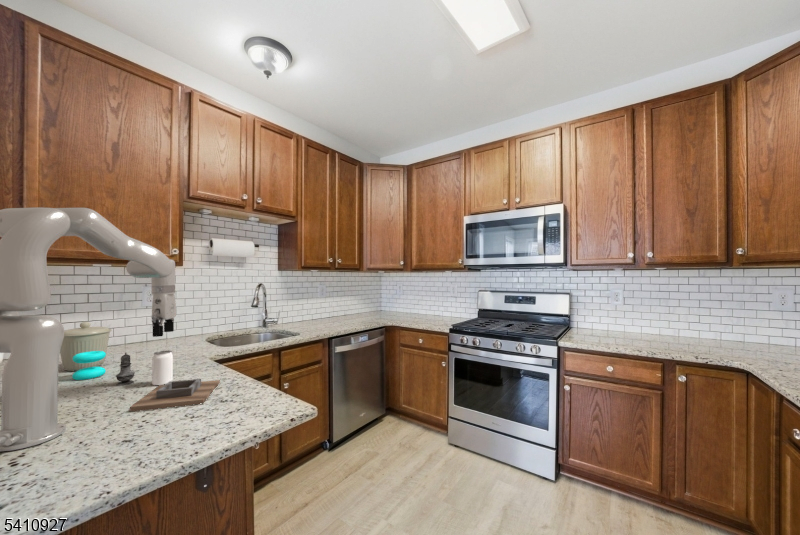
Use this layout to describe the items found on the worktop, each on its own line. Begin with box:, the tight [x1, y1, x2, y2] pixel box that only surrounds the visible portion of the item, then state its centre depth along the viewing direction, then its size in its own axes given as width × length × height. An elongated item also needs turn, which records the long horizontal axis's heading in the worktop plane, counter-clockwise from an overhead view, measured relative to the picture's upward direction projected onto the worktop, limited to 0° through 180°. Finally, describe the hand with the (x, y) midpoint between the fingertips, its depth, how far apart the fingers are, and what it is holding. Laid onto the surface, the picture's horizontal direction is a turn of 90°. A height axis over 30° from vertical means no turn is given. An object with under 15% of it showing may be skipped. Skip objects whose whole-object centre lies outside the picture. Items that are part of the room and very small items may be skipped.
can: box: [151, 350, 174, 386], centre depth 124 cm, size 6×6×12 cm
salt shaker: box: [115, 352, 136, 387], centre depth 124 cm, size 6×6×12 cm
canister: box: [59, 321, 112, 372], centre depth 146 cm, size 18×18×21 cm
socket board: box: [129, 378, 221, 413], centre depth 110 cm, size 20×20×4 cm
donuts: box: [71, 351, 107, 381], centre depth 132 cm, size 10×10×10 cm
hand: (163, 333), depth 125 cm, fingers open, 9 cm apart
